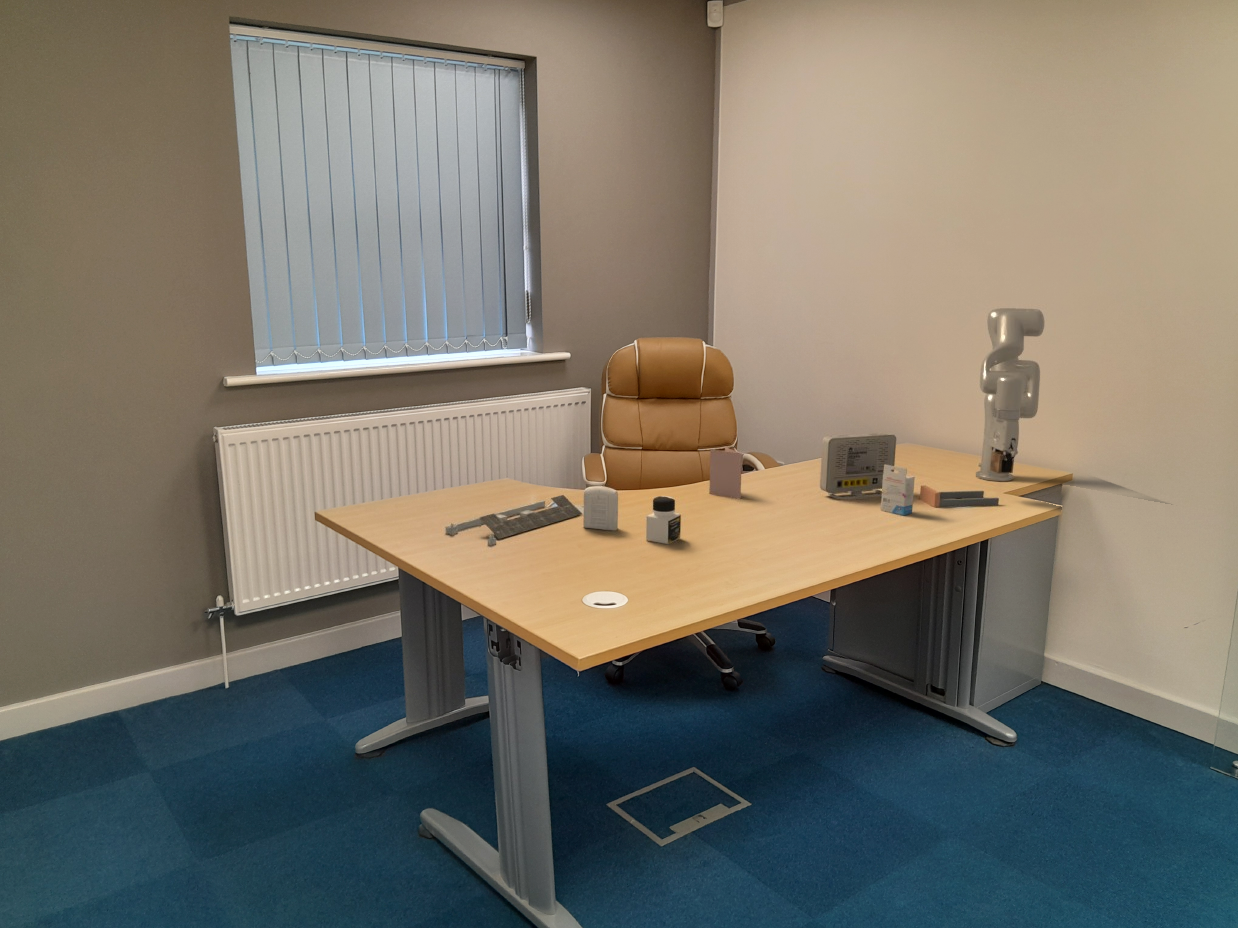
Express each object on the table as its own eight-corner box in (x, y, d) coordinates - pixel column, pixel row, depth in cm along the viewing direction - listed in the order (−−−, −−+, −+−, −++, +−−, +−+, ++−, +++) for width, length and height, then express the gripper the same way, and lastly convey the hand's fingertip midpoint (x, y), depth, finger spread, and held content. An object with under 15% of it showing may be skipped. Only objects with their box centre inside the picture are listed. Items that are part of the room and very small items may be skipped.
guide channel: (919, 498, 301) (920, 485, 300) (981, 497, 304) (983, 483, 303) (934, 507, 291) (935, 493, 290) (998, 505, 294) (999, 491, 293)
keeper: (989, 469, 300) (991, 451, 299) (1004, 469, 301) (1006, 451, 299) (998, 473, 295) (999, 455, 294) (1012, 473, 296) (1014, 454, 295)
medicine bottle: (668, 544, 251) (669, 502, 249) (645, 540, 255) (646, 498, 252) (680, 538, 257) (681, 496, 254) (658, 534, 261) (659, 493, 258)
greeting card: (742, 498, 301) (744, 453, 297) (722, 500, 298) (723, 455, 295) (726, 490, 311) (727, 446, 308) (706, 492, 308) (707, 448, 305)
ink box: (912, 513, 284) (916, 466, 281) (903, 516, 281) (907, 468, 278) (889, 507, 290) (892, 462, 287) (879, 510, 287) (883, 464, 284)
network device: (882, 488, 314) (886, 431, 310) (897, 495, 306) (901, 435, 302) (815, 494, 306) (819, 435, 302) (829, 500, 298) (833, 440, 294)
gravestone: (619, 527, 267) (620, 486, 264) (615, 531, 263) (615, 489, 260) (586, 524, 270) (586, 483, 267) (581, 528, 266) (581, 486, 263)
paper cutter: (445, 534, 261) (445, 515, 260) (555, 504, 294) (555, 487, 293) (488, 547, 249) (488, 527, 248) (598, 514, 283) (598, 496, 282)
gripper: (982, 409, 301) (977, 463, 306) (1010, 420, 285) (1004, 477, 289) (1003, 409, 302) (998, 462, 307) (1033, 419, 286) (1027, 476, 290)
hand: (1001, 469), depth 298 cm, fingers closed on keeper, 5 cm apart
